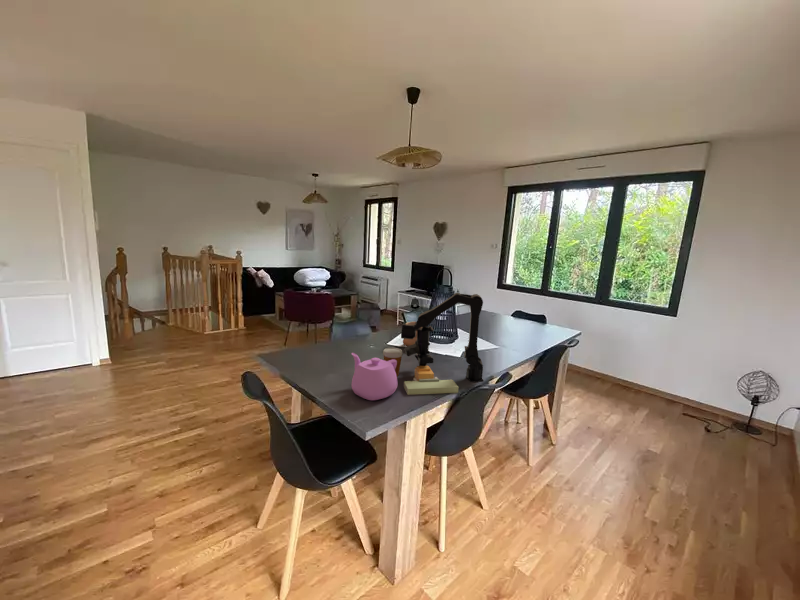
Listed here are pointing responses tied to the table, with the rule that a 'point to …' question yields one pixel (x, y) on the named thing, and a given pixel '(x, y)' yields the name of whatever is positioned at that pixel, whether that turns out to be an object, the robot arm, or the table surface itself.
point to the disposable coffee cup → (393, 357)
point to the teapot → (374, 378)
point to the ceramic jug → (410, 341)
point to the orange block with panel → (423, 373)
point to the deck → (430, 386)
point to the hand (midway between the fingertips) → (421, 371)
